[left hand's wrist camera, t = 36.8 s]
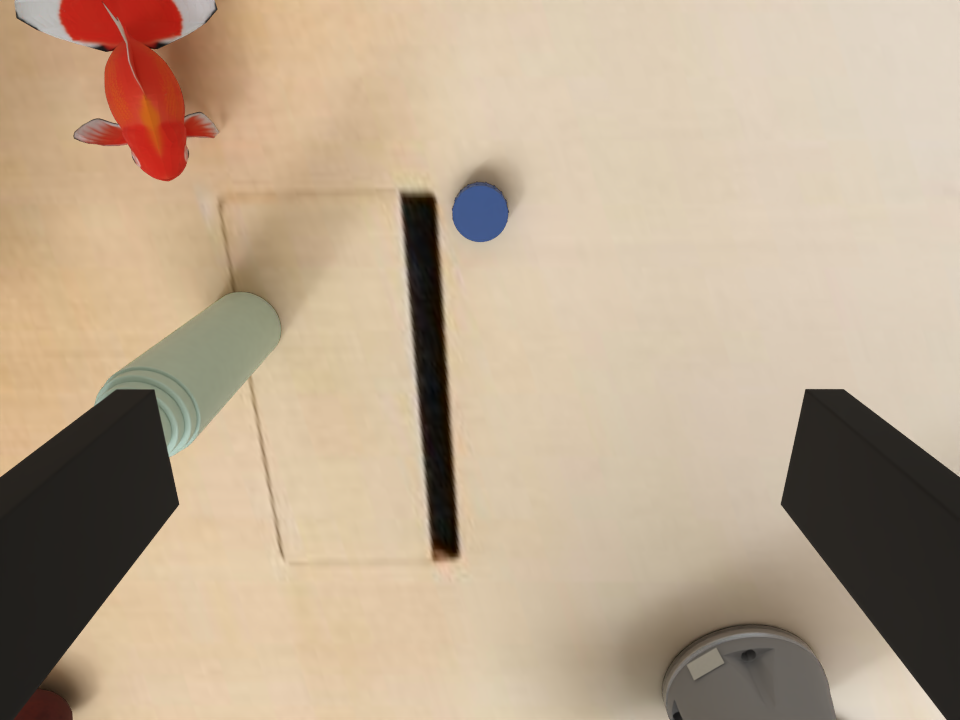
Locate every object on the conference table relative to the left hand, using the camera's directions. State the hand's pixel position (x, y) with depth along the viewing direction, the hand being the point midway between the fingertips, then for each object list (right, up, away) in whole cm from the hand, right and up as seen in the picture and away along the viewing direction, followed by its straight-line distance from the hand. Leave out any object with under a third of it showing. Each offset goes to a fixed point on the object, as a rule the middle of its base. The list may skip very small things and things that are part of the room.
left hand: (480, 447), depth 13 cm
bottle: (-18, +4, +34) cm, 39 cm away
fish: (-21, +22, +27) cm, 41 cm away
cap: (0, +12, +29) cm, 32 cm away
